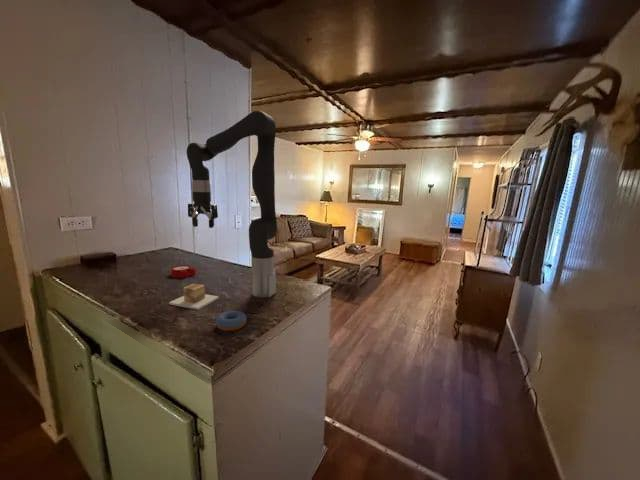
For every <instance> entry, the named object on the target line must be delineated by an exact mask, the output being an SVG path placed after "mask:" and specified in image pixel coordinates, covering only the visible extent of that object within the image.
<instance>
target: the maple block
mask: <svg viewBox="0 0 640 480" xmlns="http://www.w3.org/2000/svg"><path fill="white" fill-rule="evenodd" d="M205 291H206V290H205V284H198V283H191V284H189V285H187V286H185V287H183V296H184V301H188V302H193V303H196V302H198V301H200V300H202V299H204V298H205V294H206V292H205Z"/></svg>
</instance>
